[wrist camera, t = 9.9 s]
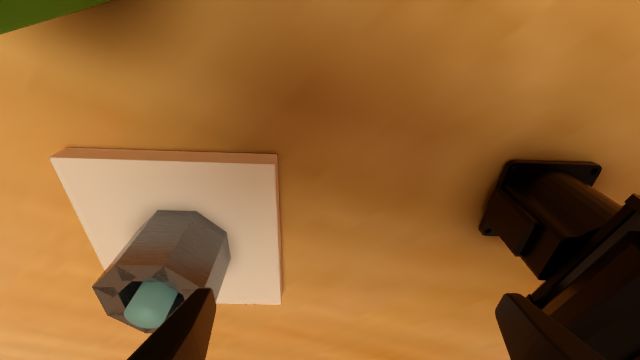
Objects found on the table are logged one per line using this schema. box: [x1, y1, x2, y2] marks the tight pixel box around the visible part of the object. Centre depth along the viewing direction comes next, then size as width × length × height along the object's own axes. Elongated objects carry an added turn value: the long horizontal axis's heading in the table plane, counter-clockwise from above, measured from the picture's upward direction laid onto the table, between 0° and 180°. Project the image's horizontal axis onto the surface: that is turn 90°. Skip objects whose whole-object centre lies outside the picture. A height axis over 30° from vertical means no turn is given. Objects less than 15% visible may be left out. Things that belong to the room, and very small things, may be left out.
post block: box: [49, 147, 283, 329], centre depth 20 cm, size 14×14×8 cm
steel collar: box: [92, 210, 231, 333], centre depth 20 cm, size 6×6×5 cm
